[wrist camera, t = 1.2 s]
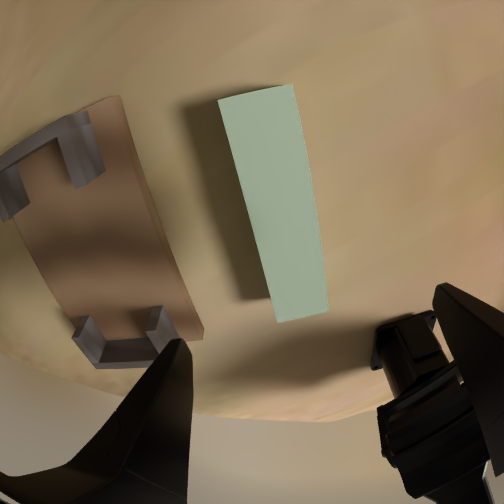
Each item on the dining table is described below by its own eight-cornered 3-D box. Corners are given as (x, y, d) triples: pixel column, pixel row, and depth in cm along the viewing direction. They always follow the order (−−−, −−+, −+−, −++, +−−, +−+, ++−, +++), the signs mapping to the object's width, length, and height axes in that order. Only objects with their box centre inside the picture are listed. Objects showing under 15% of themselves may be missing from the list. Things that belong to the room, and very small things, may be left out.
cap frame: (203, 328, 23) (200, 364, 20) (95, 340, 24) (83, 370, 20) (120, 95, 14) (90, 98, 10) (2, 159, 14) (-30, 176, 11)
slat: (319, 284, 21) (328, 311, 19) (273, 294, 22) (277, 323, 19) (283, 85, 14) (292, 83, 12) (221, 98, 15) (217, 100, 12)
